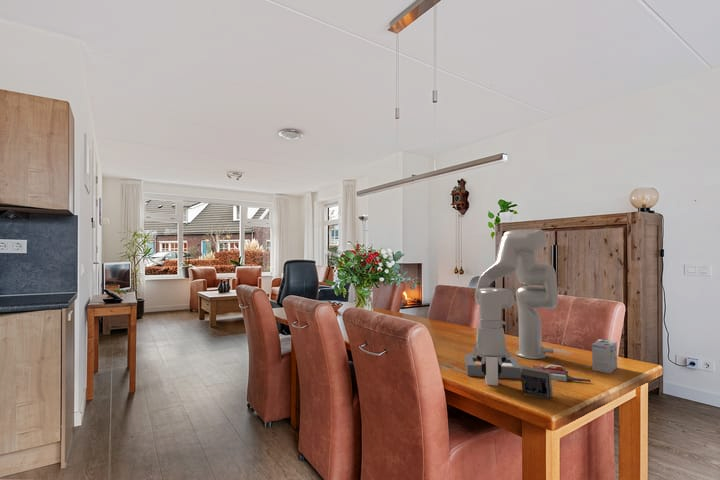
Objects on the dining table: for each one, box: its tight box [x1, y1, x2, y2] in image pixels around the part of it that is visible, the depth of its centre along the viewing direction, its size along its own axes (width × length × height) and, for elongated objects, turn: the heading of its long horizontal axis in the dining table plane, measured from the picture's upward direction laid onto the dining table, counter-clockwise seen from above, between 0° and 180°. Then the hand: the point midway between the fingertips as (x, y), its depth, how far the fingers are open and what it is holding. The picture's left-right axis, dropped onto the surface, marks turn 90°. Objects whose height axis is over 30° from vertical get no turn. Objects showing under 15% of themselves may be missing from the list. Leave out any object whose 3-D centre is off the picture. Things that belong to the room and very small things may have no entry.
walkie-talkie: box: [532, 364, 592, 383], centre depth 143 cm, size 9×4×20 cm
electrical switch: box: [520, 365, 554, 400], centre depth 125 cm, size 9×5×9 cm, turn 51°
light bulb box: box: [591, 338, 618, 374], centre depth 153 cm, size 11×7×11 cm, turn 134°
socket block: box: [464, 353, 522, 380], centre depth 151 cm, size 20×16×4 cm
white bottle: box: [484, 356, 499, 386], centre depth 137 cm, size 4×4×12 cm
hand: (491, 373), depth 137 cm, fingers closed on white bottle, 4 cm apart
